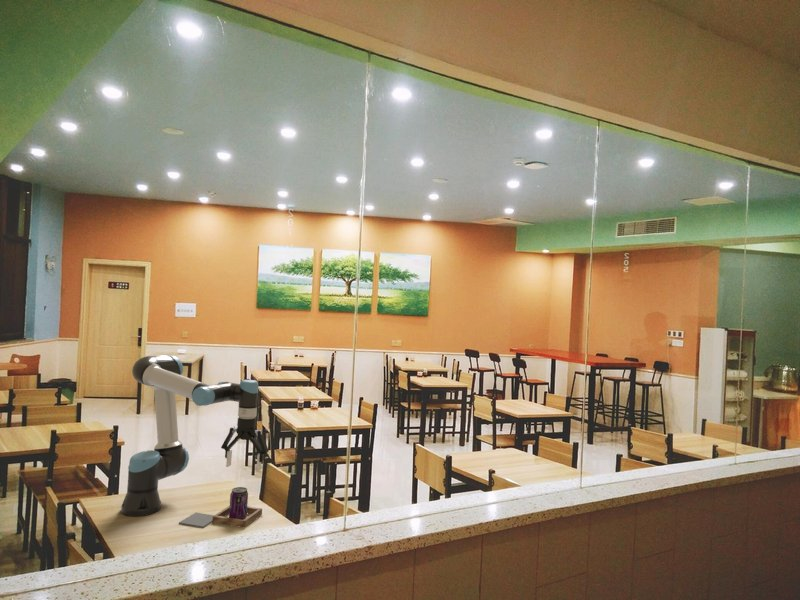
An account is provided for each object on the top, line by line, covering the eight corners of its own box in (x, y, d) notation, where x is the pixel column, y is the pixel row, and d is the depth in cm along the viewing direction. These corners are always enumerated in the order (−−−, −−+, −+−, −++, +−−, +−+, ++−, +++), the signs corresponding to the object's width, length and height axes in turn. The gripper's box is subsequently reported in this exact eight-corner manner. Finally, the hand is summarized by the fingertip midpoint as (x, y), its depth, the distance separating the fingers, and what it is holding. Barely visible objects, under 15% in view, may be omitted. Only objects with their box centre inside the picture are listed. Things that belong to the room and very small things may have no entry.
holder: (212, 522, 208) (212, 516, 208) (231, 509, 222) (232, 504, 222) (244, 527, 205) (244, 521, 205) (261, 514, 219) (262, 508, 219)
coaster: (178, 523, 205) (179, 522, 205) (195, 513, 216) (195, 512, 216) (203, 527, 202) (203, 526, 202) (219, 517, 213) (219, 516, 213)
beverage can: (241, 522, 209) (243, 493, 209) (225, 520, 211) (227, 491, 211) (249, 516, 216) (251, 487, 216) (234, 514, 217) (236, 485, 218)
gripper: (215, 416, 214) (211, 467, 213) (271, 421, 209) (267, 473, 209) (224, 412, 221) (220, 462, 221) (278, 418, 217) (275, 468, 216)
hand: (243, 467), depth 215 cm, fingers open, 13 cm apart
